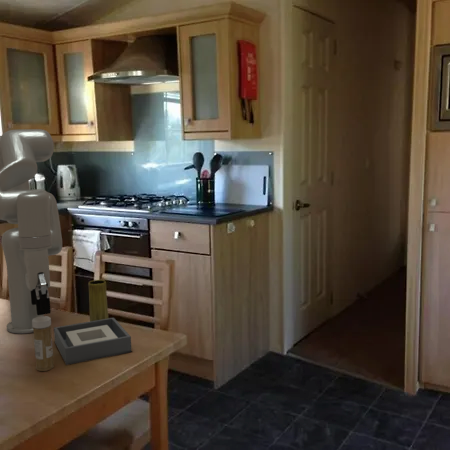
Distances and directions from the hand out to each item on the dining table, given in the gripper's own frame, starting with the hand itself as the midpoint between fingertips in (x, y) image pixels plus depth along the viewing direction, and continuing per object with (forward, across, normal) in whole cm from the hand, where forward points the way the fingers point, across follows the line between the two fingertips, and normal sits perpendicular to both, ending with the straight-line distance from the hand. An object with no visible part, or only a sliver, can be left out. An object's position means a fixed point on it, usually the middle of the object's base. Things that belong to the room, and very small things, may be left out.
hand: (40, 308), depth 137 cm
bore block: (+16, -9, +14) cm, 23 cm away
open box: (+16, -9, +14) cm, 23 cm away
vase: (+16, -25, +20) cm, 36 cm away
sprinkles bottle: (+16, -1, 0) cm, 16 cm away
